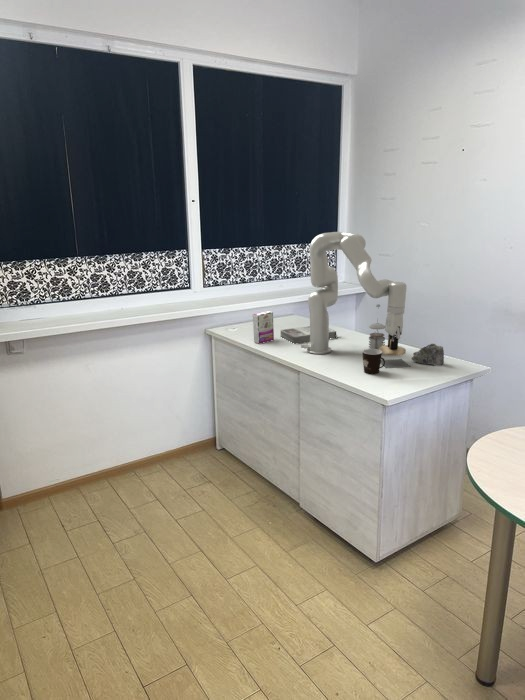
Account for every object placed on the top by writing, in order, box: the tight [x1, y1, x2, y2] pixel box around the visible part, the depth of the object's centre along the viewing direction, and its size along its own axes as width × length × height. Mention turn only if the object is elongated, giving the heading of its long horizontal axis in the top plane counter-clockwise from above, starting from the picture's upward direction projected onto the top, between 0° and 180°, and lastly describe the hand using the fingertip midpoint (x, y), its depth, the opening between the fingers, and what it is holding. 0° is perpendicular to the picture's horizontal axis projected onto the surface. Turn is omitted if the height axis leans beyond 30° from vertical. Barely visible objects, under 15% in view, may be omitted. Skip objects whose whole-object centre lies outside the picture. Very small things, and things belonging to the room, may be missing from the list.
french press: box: [368, 303, 386, 355], centre depth 249 cm, size 10×12×25 cm
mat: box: [380, 358, 412, 369], centre depth 235 cm, size 12×12×1 cm
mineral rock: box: [411, 343, 445, 366], centre depth 233 cm, size 13×11×10 cm
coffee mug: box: [361, 348, 386, 375], centre depth 221 cm, size 12×9×10 cm
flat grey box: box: [280, 325, 338, 345], centre depth 287 cm, size 18×27×4 cm
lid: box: [379, 339, 407, 356], centre depth 233 cm, size 12×12×6 cm
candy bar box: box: [252, 310, 275, 344], centre depth 279 cm, size 11×5×16 cm, turn 131°
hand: (392, 347), depth 233 cm, fingers closed on lid, 2 cm apart
